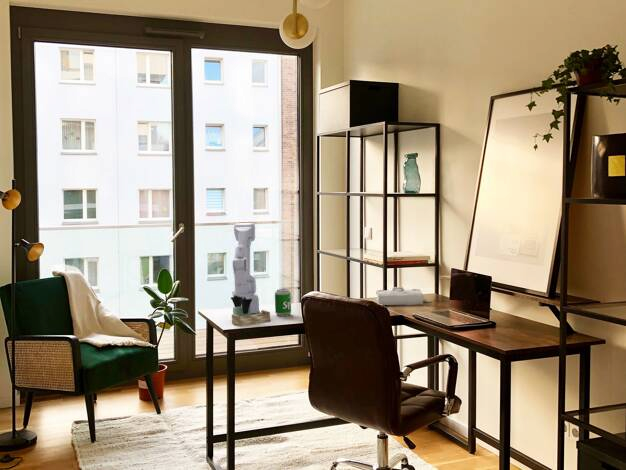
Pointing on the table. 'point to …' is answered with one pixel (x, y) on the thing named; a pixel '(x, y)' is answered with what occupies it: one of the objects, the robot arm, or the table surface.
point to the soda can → (283, 302)
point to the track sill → (251, 318)
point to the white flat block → (400, 297)
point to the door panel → (241, 311)
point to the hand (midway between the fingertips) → (241, 312)
